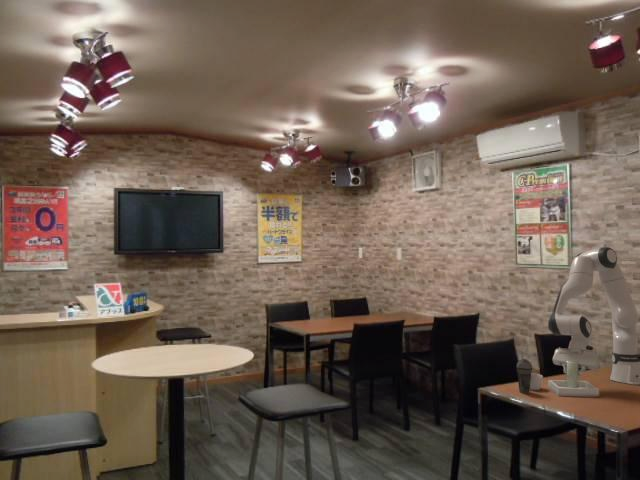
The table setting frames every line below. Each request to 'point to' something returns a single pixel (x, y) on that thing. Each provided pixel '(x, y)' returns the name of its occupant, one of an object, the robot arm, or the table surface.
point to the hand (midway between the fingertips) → (572, 373)
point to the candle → (535, 381)
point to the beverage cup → (524, 374)
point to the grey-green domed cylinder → (572, 374)
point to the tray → (573, 389)
